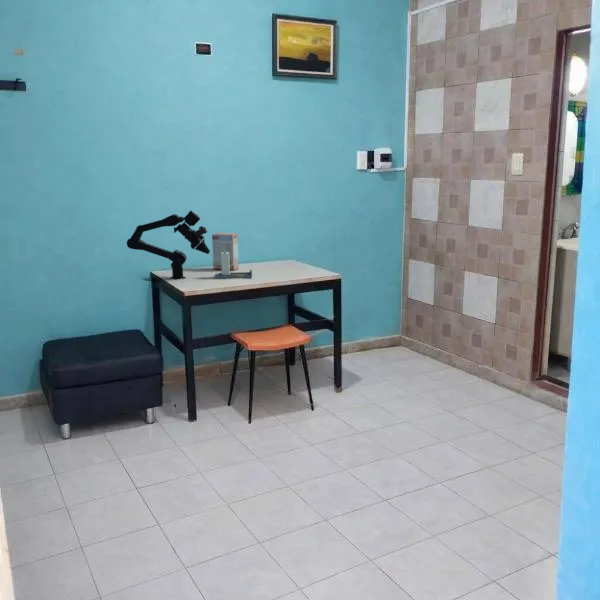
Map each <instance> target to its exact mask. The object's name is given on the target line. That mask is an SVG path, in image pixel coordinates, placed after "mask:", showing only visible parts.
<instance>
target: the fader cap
mask: <svg viewBox="0 0 600 600" xmlns="http://www.w3.org/2000/svg"><path fill="white" fill-rule="evenodd" d="M221 263H222V270H221V273H222V275H230V273H231V270H230V264H229V252H226V251H225V252H222V253H221Z"/></svg>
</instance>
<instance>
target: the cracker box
mask: <svg viewBox="0 0 600 600" xmlns="http://www.w3.org/2000/svg"><path fill="white" fill-rule="evenodd" d="M211 239H212V240H211V244H212V266H213V270H216V269H220V271H222V263H221V253H222V252H225V251H226V252H229V264H230V271H232V270H234V271H237V270H239V242H238V241H239V239H238V233H228V232H227V233H225V232H224V233H222V232H216V233H212V235H211Z"/></svg>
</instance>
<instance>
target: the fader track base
mask: <svg viewBox="0 0 600 600" xmlns="http://www.w3.org/2000/svg"><path fill="white" fill-rule="evenodd" d="M252 277H253V270H252V269H249V271H248V272H247V271H246V272H242V271H241V272H240V271H239V272H230V275H222V272H218V273H215V274H214V275H213V279H214V280H228V279H229V278H243V279H252ZM227 278H228V279H227ZM229 280H230V279H229Z"/></svg>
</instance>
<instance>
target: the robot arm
mask: <svg viewBox="0 0 600 600" xmlns="http://www.w3.org/2000/svg"><path fill="white" fill-rule="evenodd" d="M199 221H201V217H200V216H199V215H198V214H197V213H195V212H194V211H192V210H189V212H188V213H187V214H186V215H185V216H179V214H175V213H174V214H171V215H169V216H167V217H164V218H162V219H158V220H157V221H156V220H155V221H152V222H148V223H144V224H139V225H137V226H136V228H135V230H134V231H133V233H132V235H131V237H130V238H129V239H127V240H126V246H127V248H129V249H131V250H137V251H139V250H140V251H145V252H148V253H151V254H153V255H156V256H159V257H162V258H165V259H168V260H169V261H171V263H170V267H171V271H172V272H171V273H172V274H171V275H172V276H169V277H170V279H172V280H179V279H180V280H181V278H182V279H186V276H184V268H183V265H184V264H185V263H186V261H187V258H188V257H187V255H186V254H185V253H184V251H180V250H178V249H175V250H174V251H170V250H167V249H165V248H162V247H159V246H155V245H153V244H150V243H147V242H146V241H144V240H142V236H143V234H144V232H147V231H151V230H156V229H158V228H159V229H160V228H163V227H173V234H175V233H177V232H178V233H179V234H180V235H181V236H183V237H184V239H185V240H187V241H188V242H189V243H190V248H191V250H196V251H198V252H202V253H204V254H206V255H209V254H210V253H211V250H210V248H209V247H208V246H207V244H206V241H205V240H206V239H205V236H204V235H205V234H207V233H208V230H207V228H206V226H202V225H200V226H199V227H198V229H197V230H195V229H192V228H191V227H195V225H196V224H197V223H198V222H199Z"/></svg>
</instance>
